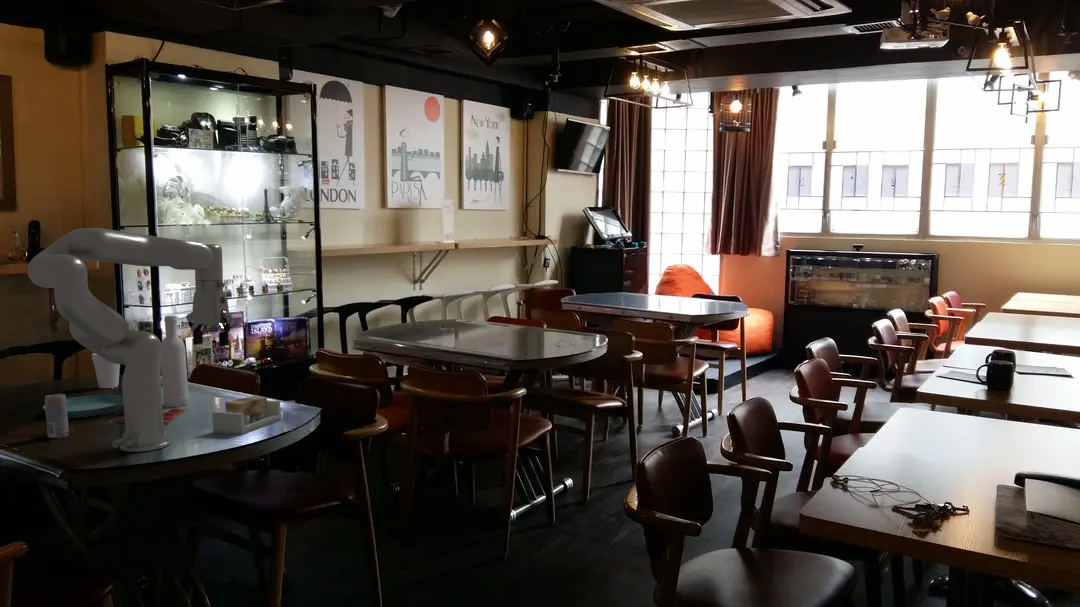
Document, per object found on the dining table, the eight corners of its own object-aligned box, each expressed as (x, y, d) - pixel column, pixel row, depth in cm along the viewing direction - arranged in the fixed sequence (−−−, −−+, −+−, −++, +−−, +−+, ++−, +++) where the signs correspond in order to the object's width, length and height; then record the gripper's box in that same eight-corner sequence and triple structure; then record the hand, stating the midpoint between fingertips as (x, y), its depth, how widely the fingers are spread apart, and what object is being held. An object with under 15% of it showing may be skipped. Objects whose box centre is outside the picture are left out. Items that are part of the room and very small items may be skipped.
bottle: (190, 401, 289) (185, 313, 286) (187, 406, 282) (181, 316, 279) (165, 403, 287) (159, 315, 284) (161, 408, 280) (155, 317, 277)
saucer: (37, 424, 263) (36, 413, 262) (49, 408, 285) (49, 399, 285) (124, 415, 272) (123, 405, 271) (129, 401, 294) (129, 391, 294)
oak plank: (239, 417, 246) (238, 404, 245) (225, 415, 249) (225, 402, 249) (267, 410, 254) (266, 397, 254) (254, 408, 257) (253, 395, 257)
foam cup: (99, 385, 323) (97, 351, 321) (125, 384, 324) (123, 350, 323) (91, 390, 313) (88, 355, 312) (118, 389, 315) (115, 354, 314)
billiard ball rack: (115, 417, 261) (164, 403, 280) (116, 424, 261) (165, 410, 280) (163, 421, 255) (210, 406, 274) (163, 428, 255) (210, 413, 274)
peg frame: (242, 435, 242) (240, 414, 241) (213, 432, 245) (212, 412, 245) (281, 420, 259) (280, 400, 258) (253, 418, 262) (252, 399, 262)
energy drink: (64, 433, 249) (61, 392, 248) (72, 435, 246) (68, 394, 244) (44, 437, 245) (41, 396, 244) (52, 439, 242) (48, 398, 240)
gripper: (241, 286, 248) (243, 344, 249) (196, 285, 255) (197, 342, 256) (223, 287, 241) (224, 347, 242) (176, 286, 248) (178, 345, 249)
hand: (210, 345), depth 249 cm, fingers open, 9 cm apart
